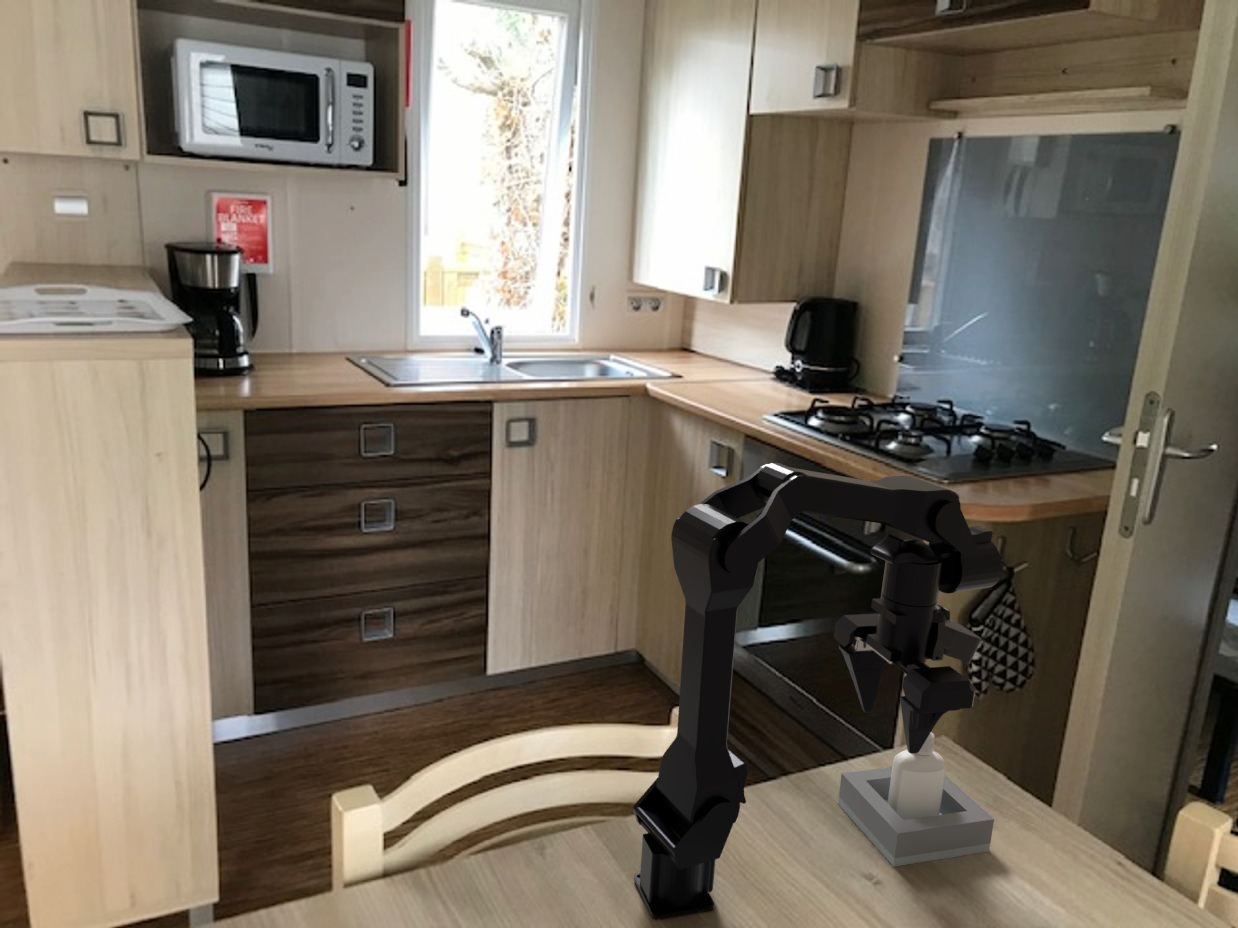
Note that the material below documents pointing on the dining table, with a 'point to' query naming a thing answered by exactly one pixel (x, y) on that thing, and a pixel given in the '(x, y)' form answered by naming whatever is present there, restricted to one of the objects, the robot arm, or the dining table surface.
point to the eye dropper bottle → (917, 782)
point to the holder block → (914, 820)
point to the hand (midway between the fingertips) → (889, 731)
